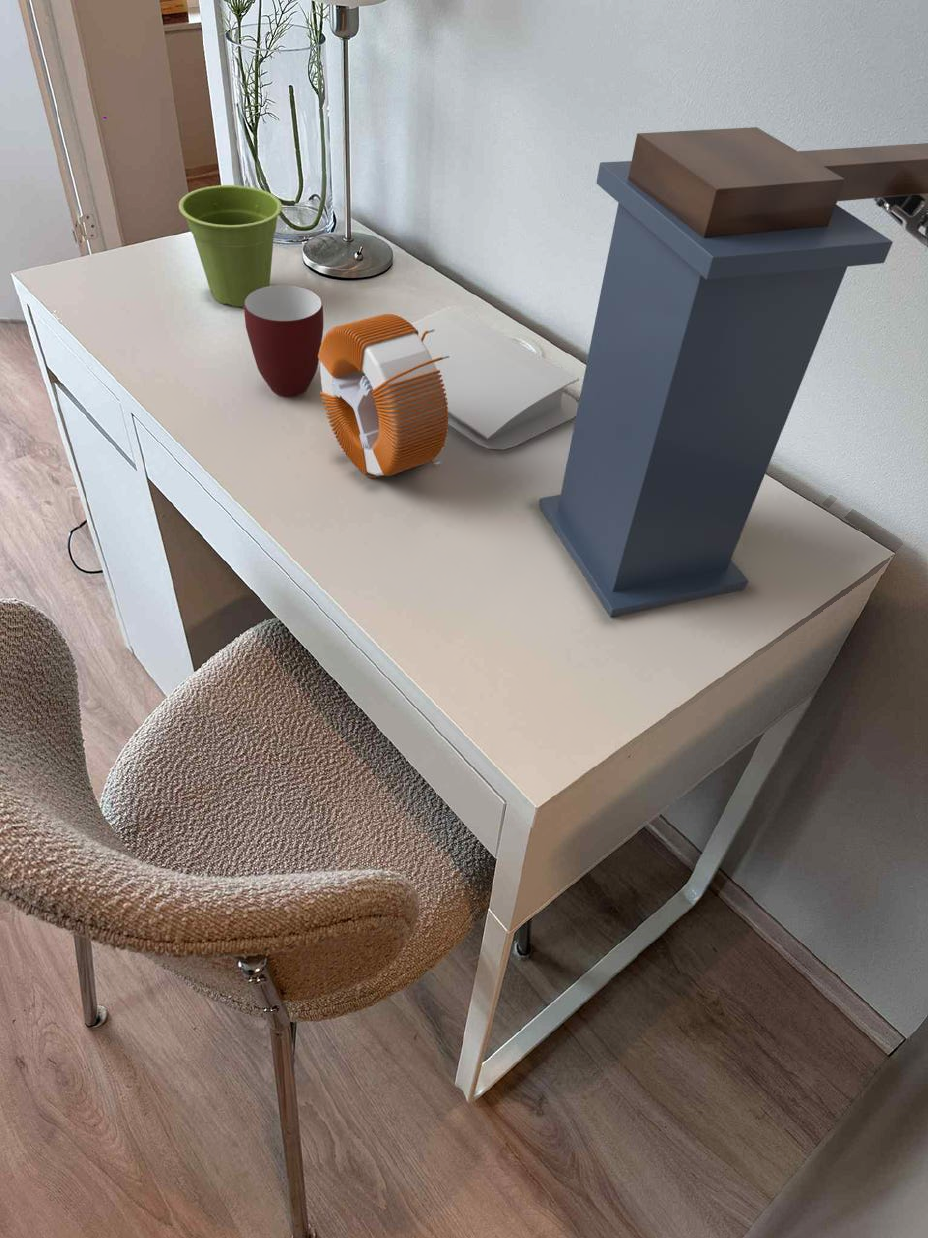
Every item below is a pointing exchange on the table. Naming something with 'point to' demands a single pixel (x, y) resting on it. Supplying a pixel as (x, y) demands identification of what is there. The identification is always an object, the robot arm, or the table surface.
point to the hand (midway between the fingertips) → (914, 191)
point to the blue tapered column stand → (689, 392)
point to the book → (494, 381)
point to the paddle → (766, 178)
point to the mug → (285, 336)
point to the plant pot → (233, 237)
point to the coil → (383, 394)
